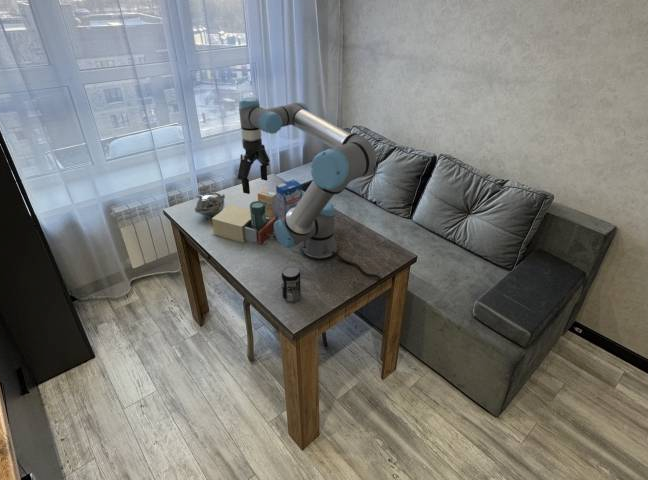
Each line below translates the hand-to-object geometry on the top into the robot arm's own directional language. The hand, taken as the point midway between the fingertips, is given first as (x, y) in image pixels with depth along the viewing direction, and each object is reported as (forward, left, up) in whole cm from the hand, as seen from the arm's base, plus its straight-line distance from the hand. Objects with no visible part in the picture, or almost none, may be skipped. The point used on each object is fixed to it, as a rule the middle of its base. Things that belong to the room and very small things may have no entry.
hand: (255, 186), depth 167 cm
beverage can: (-32, +29, -26) cm, 50 cm away
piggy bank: (+30, -5, -26) cm, 40 cm away
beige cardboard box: (+11, +1, -25) cm, 28 cm away
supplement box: (+5, -16, -26) cm, 31 cm away
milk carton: (-7, -16, -26) cm, 31 cm away
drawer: (-1, +1, -25) cm, 25 cm away
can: (-1, +1, -24) cm, 24 cm away
